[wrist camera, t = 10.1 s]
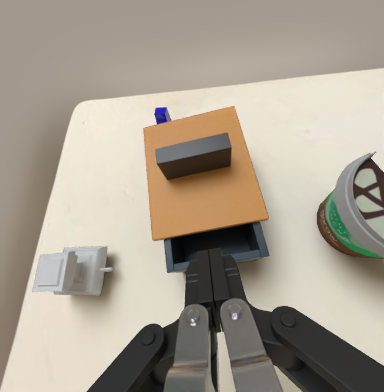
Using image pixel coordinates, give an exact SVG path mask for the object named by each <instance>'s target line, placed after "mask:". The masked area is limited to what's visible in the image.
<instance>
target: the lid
mask: <svg viewBox="0 0 384 392" xmlns="http://www.w3.org/2000/svg"><path fill="white" fill-rule="evenodd" d="M143 130H144V142H145V155H146V167H147V180H148V192H149V204H150V217H151V229H152V240H153V241H158V240H163V239H169V238H174V237H179V236H185V235H190V234H195V233H201V232H206V231H211V230H217V229H222V228H227V227H233V226H238V225H243V224H249V223H254V222H259V221H265V220H268V219H269V216H268V213H267V210H266V207H265V204H264V200H263V197H262V194H261V191H260V188H259V184H258V181H257V178H256V175H255V171H254V168H253V165H252V162H251V159H250V155H249V152H248V149H247V146H246V142H245V139H244V136H243V133H242V130H241V126H240V123H239V120H238V117H237V113H236V110H235V107H234V106H232V107H227V108H223V109H219V110H215V111H211V112H207V113H203V114H199V115H194V116H190V117H186V118H182V119H178V120H174V121H170V122H166V123H162V124H157V125H153V126H149V127H145V128H143Z"/></svg>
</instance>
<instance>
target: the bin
mask: <svg viewBox="0 0 384 392" xmlns="http://www.w3.org/2000/svg"><path fill="white" fill-rule="evenodd" d="M164 245H165V255H166V266H167V273H173V272H186V268H187V267H188V265H189V263H190V262H192V261H197V252H200V251H205V250H208V251H209V250H211V249H217V248H221V253H222V256H227V255H231V256H232V257H233V258H234V259H235V260H236V263H240V262H246V261H252V260H258V259H261V258H264V257H267V256H269V253H268V249H267V246H266V242H265V239H264V235H263V232H262V228H261V225H260V221H259V222H254V223H249V224H243V225H238V226H233V227H227V228H222V229H217V230H211V231H206V232H201V233H195V234H190V235H185V236H179V237H174V238H169V239H164Z"/></svg>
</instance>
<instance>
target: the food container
mask: <svg viewBox="0 0 384 392" xmlns="http://www.w3.org/2000/svg"><path fill="white" fill-rule="evenodd" d="M375 153H376V152H374V153H372V154H371V153H369V154H366V155H364V156H362V157H360V158H358V159H357V160H355V161H353V162H352V163H351V164H349V165H348V166H347V167H346V168H345V169H344V170H343V172H342V173H341V175H340V176H339V178H338V181H337V184H336V188H335V189H334V190H333V191H332V192H331V193H330V194H329V195H328V197H327V198H326V199H325V200H324V201H323V202H322V203H321V204H320V206H319V209H318V212H317V225H318V228H319V230H320V232H321V234H322V236H323V237H324V239H325V240H326V241H327V242H328V243H329V244H330V245H331V246H333V247H334V248H335V249H337V250H339V251H341V252H343V253H345V254H348V255H351V256H356V257H368V258H384V172H383V171H382V170H381V169H380V168H379V167H378V166H377V165H376V163H375V162H374V161H373V160H372V159H371V157H372V156H373V155H374V154H375Z"/></svg>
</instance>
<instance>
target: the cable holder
mask: <svg viewBox="0 0 384 392" xmlns="http://www.w3.org/2000/svg"><path fill="white" fill-rule="evenodd" d="M154 115H155V118H156V122H157V124H162V123H166V122H170V121H171V118H170V116H169V113H168V110H167V107H164V108H156V109H155V114H154Z"/></svg>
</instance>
